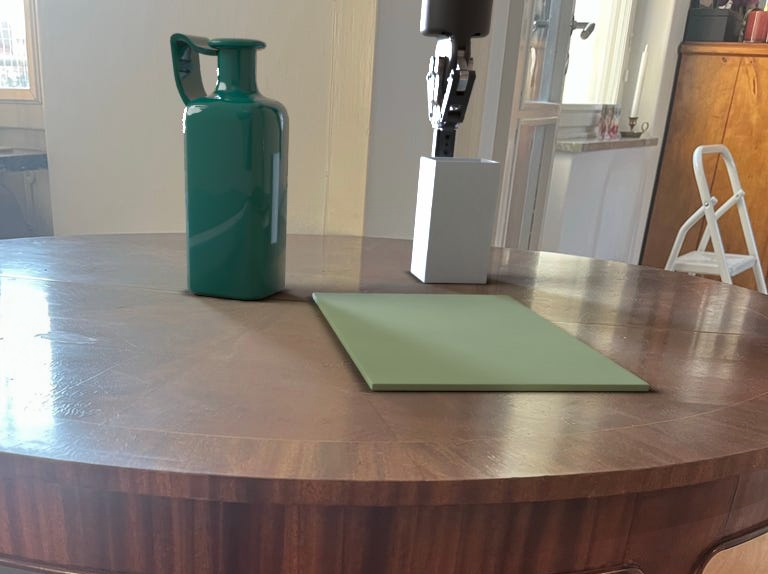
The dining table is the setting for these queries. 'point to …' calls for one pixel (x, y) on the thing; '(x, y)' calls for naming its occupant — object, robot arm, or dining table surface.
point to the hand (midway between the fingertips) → (441, 165)
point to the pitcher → (232, 172)
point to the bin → (454, 219)
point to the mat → (464, 345)
